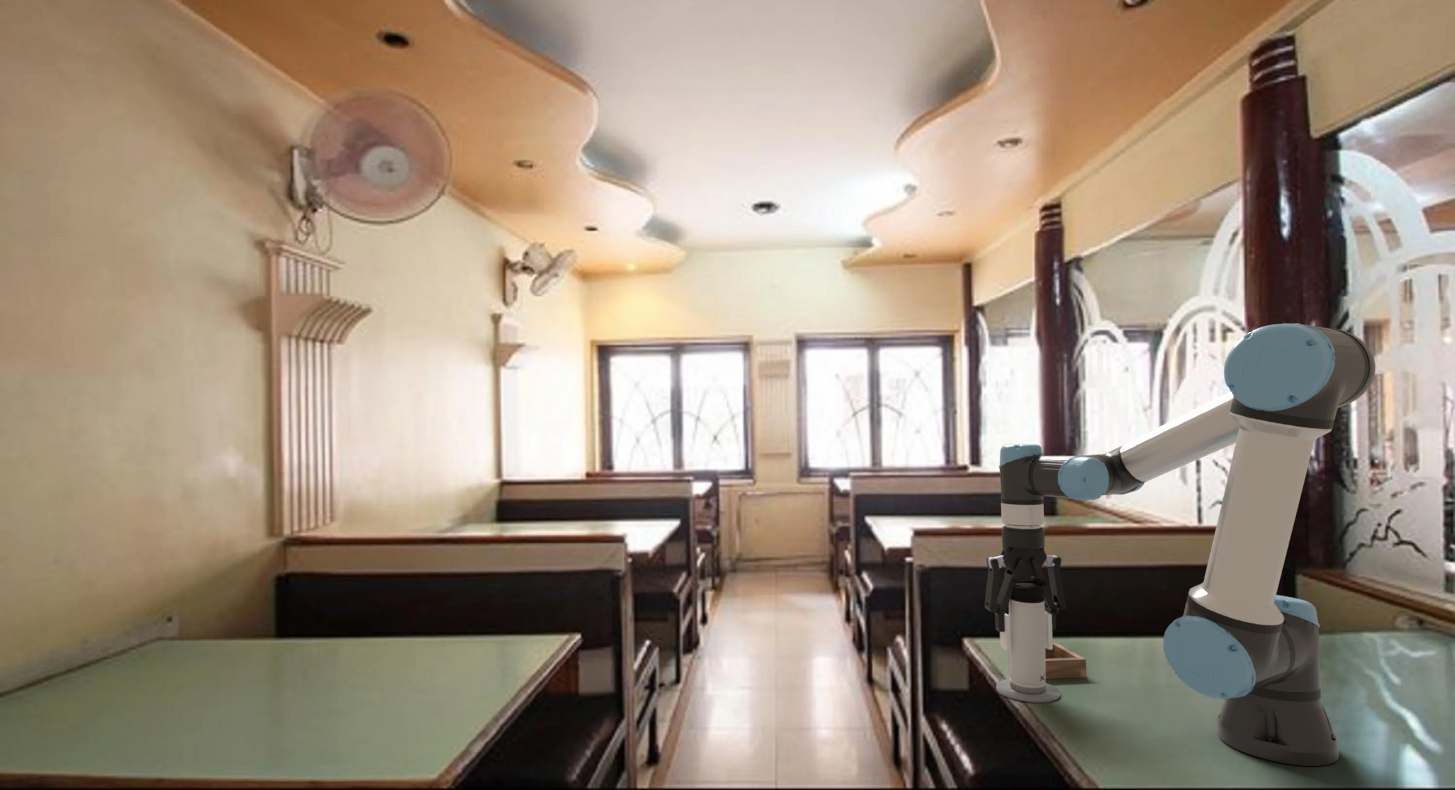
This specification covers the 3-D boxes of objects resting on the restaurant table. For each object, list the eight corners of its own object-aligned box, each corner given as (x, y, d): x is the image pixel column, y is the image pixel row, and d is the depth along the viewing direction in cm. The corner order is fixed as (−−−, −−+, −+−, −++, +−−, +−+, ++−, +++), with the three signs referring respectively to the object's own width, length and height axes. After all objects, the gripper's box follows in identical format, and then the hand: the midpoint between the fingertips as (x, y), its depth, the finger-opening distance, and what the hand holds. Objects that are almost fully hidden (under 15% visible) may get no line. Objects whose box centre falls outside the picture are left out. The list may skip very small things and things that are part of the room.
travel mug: (1053, 694, 135) (1051, 585, 136) (1016, 694, 136) (1015, 585, 136) (1039, 681, 142) (1038, 577, 142) (1005, 681, 142) (1003, 577, 142)
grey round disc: (1071, 701, 134) (1071, 698, 134) (1012, 704, 133) (1012, 700, 133) (1041, 680, 144) (1041, 677, 144) (986, 682, 144) (986, 679, 144)
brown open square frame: (1086, 677, 146) (1086, 659, 146) (1035, 679, 145) (1035, 661, 145) (1056, 659, 157) (1056, 642, 157) (1009, 660, 157) (1008, 644, 157)
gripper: (1063, 521, 144) (1067, 640, 143) (962, 524, 143) (966, 644, 142) (1085, 527, 137) (1089, 652, 136) (978, 529, 135) (982, 656, 134)
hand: (1026, 648), depth 139 cm, fingers open, 7 cm apart
